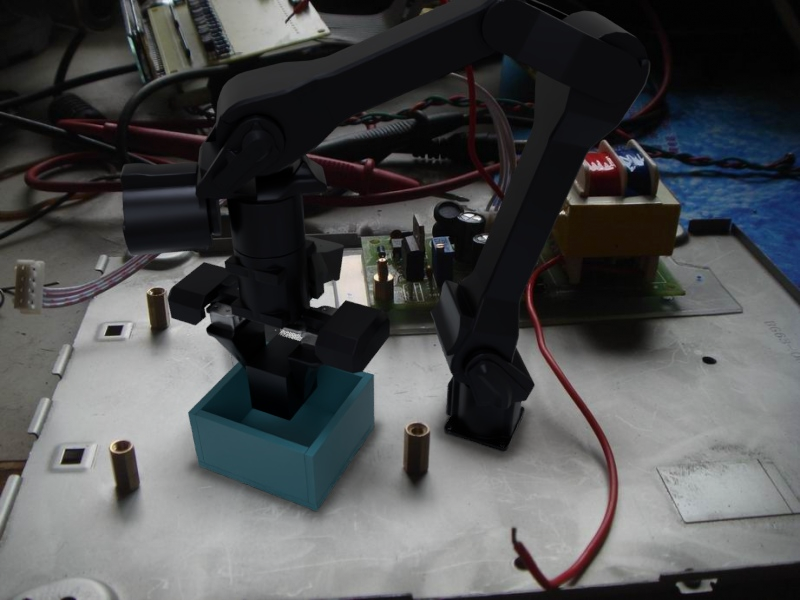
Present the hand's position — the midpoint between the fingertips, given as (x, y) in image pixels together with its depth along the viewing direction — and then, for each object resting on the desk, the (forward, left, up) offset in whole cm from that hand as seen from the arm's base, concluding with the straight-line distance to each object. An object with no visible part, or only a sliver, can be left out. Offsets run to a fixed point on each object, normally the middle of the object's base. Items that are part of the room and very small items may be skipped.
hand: (284, 389), depth 68 cm
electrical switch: (+11, -11, -7) cm, 17 cm away
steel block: (0, 0, -1) cm, 1 cm away
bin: (0, 0, -7) cm, 7 cm away
